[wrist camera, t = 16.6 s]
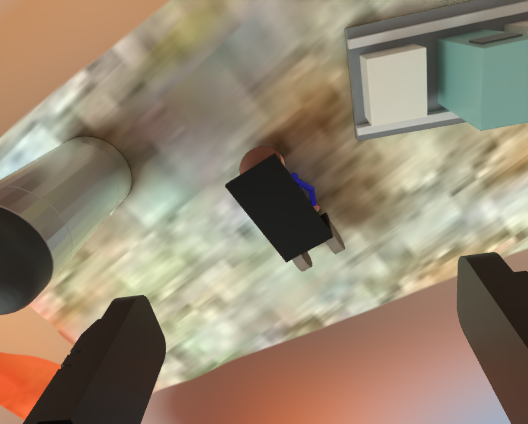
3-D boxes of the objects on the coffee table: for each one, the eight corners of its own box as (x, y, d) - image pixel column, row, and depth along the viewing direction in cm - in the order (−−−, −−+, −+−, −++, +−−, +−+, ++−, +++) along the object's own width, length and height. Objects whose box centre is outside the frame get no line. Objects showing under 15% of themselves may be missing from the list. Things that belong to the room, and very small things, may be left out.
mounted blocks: (365, 116, 40) (371, 126, 36) (359, 55, 37) (366, 59, 34) (556, 81, 37) (583, 88, 33) (564, 12, 34) (595, 12, 31)
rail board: (355, 137, 42) (358, 144, 40) (344, 28, 37) (347, 29, 35) (554, 101, 39) (570, 107, 37) (570, -22, 34) (589, -24, 32)
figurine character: (343, 219, 49) (274, 126, 42) (354, 258, 42) (276, 156, 36) (298, 244, 51) (226, 159, 44) (302, 285, 45) (219, 193, 38)
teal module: (437, 103, 39) (480, 130, 30) (437, 37, 36) (483, 46, 27) (480, 95, 38) (536, 120, 29) (482, 27, 35) (545, 33, 26)
